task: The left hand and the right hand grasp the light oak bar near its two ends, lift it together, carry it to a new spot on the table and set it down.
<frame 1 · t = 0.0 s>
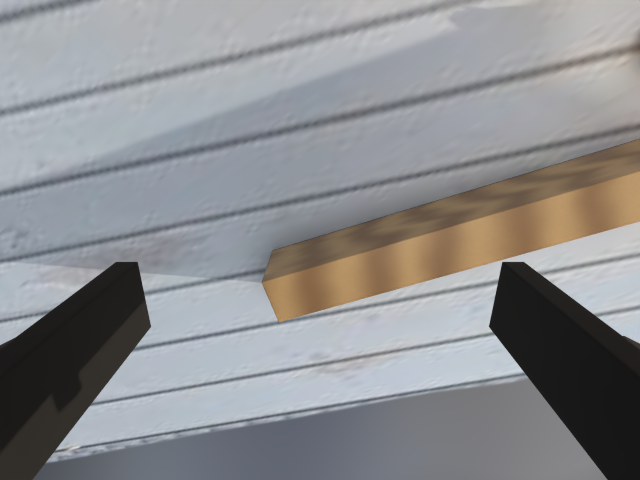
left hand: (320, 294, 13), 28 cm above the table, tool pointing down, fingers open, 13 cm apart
bar: (603, 171, 39), on the table
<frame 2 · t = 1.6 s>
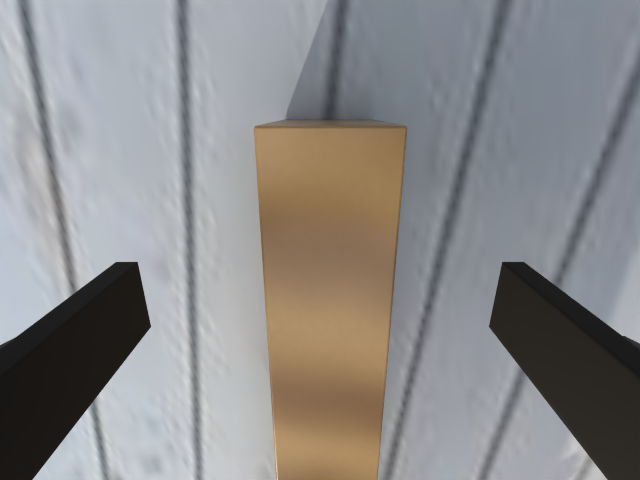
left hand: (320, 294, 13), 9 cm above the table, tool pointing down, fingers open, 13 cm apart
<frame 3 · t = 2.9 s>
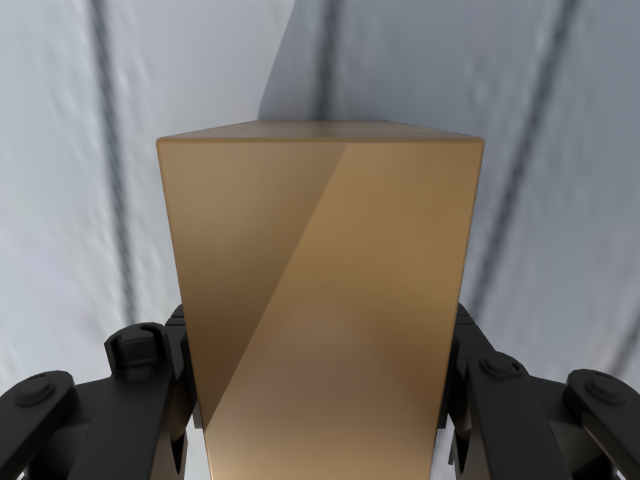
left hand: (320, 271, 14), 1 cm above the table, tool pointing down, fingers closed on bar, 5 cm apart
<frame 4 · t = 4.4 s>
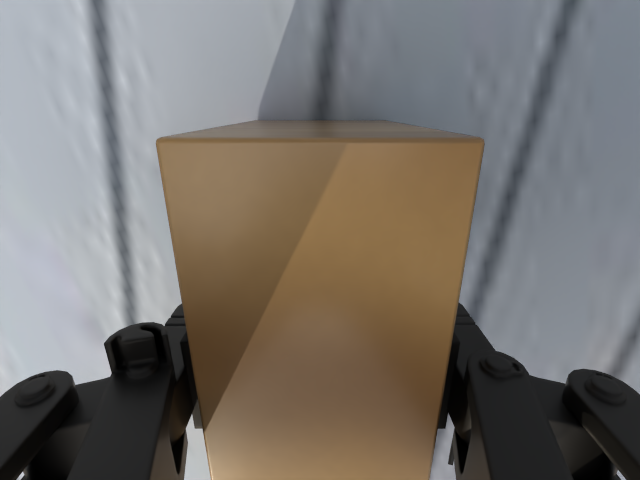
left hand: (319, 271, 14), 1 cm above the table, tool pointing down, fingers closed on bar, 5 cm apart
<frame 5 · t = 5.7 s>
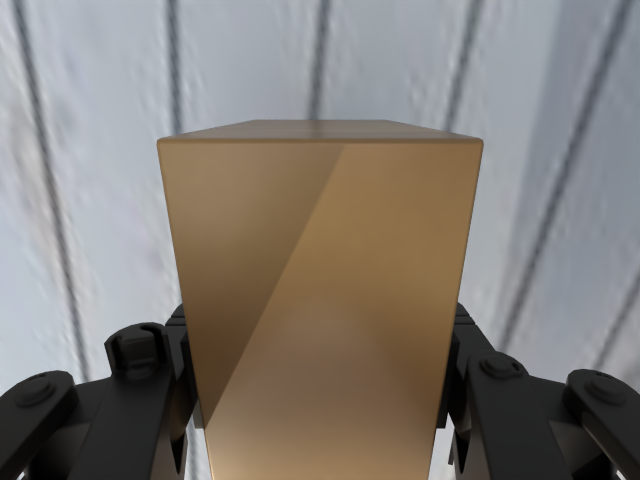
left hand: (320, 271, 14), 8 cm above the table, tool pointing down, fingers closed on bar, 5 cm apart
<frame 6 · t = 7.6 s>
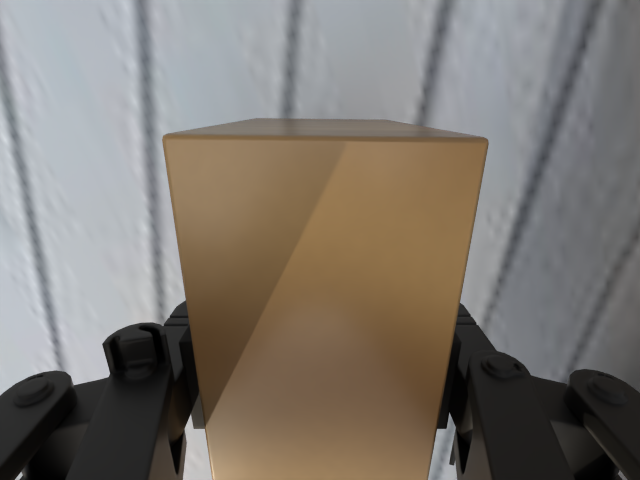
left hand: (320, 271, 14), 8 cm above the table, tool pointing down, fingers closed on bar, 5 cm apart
when the left hand's fingers open (2 cm above the table, at t = 8.8 s): bar stays where it is, on the table.
when the right hand's fingers open (5 cm above the table, at t = 9.0 s): bar stays where it is, on the table.
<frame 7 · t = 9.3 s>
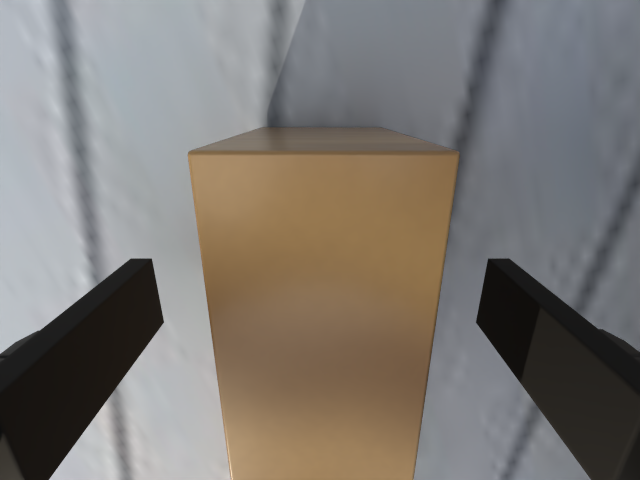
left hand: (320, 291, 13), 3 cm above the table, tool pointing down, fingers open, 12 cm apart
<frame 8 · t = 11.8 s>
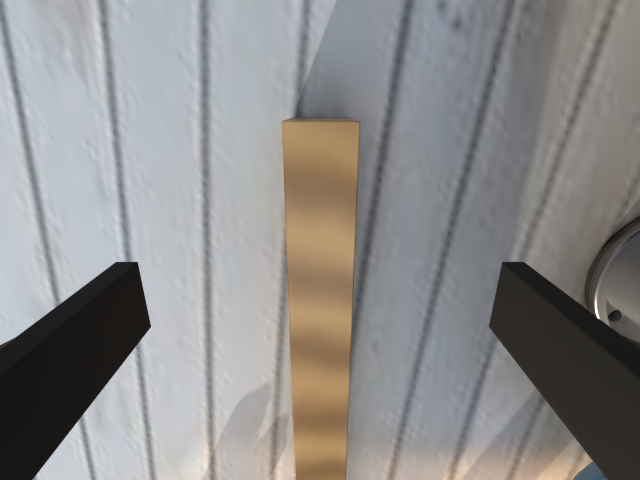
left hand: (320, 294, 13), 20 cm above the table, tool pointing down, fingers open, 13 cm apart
bar: (320, 445, 44), on the table
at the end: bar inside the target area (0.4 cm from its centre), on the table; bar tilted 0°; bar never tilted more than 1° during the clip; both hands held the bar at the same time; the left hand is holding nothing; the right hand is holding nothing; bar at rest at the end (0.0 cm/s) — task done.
